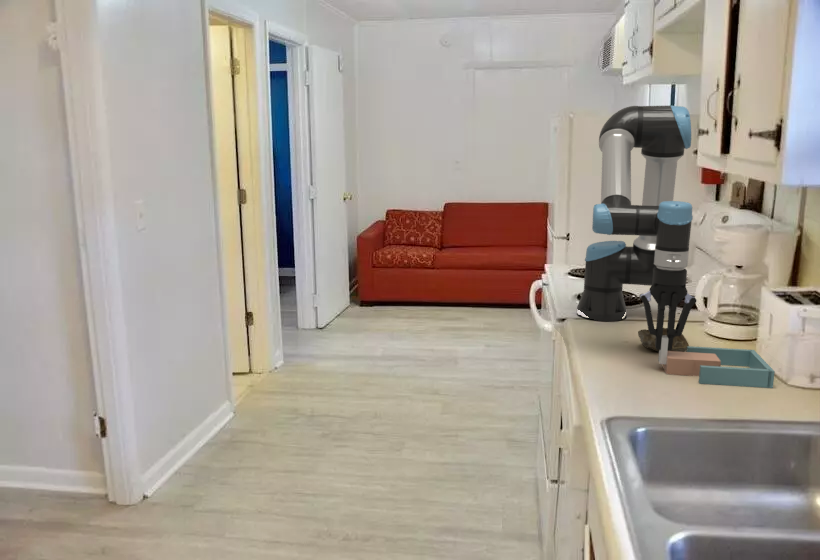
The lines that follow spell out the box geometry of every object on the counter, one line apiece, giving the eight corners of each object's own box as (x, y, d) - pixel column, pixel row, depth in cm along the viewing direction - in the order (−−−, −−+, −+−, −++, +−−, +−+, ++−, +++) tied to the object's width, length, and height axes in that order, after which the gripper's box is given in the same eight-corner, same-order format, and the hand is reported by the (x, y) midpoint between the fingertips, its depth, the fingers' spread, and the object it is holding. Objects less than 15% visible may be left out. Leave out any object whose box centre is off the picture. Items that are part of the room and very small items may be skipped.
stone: (642, 348, 186) (640, 320, 190) (635, 359, 193) (633, 331, 197) (692, 351, 185) (689, 322, 189) (683, 361, 192) (680, 333, 196)
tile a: (687, 367, 177) (689, 352, 176) (713, 369, 176) (715, 353, 175) (692, 375, 172) (694, 359, 171) (719, 377, 171) (720, 361, 170)
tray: (685, 361, 182) (687, 346, 181) (752, 365, 179) (754, 349, 178) (699, 383, 166) (701, 367, 165) (772, 388, 164) (774, 371, 163)
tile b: (662, 366, 178) (663, 350, 177) (688, 367, 177) (689, 352, 176) (666, 374, 172) (667, 358, 172) (692, 375, 171) (694, 359, 170)
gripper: (643, 269, 167) (636, 365, 172) (702, 271, 165) (693, 369, 170) (639, 263, 175) (632, 356, 180) (696, 265, 172) (687, 359, 177)
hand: (662, 362), depth 175 cm, fingers closed
